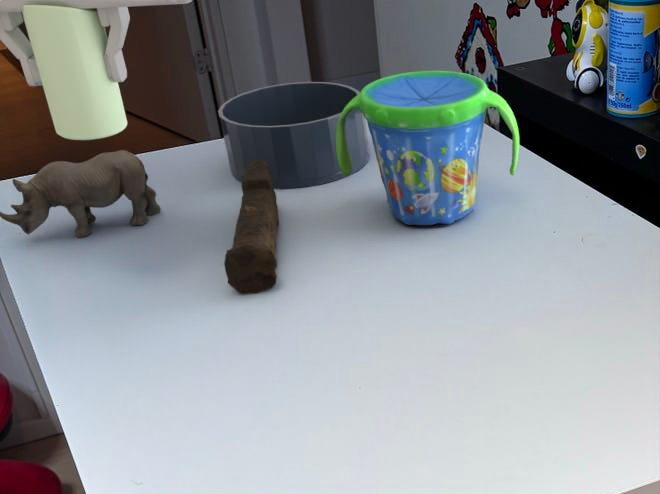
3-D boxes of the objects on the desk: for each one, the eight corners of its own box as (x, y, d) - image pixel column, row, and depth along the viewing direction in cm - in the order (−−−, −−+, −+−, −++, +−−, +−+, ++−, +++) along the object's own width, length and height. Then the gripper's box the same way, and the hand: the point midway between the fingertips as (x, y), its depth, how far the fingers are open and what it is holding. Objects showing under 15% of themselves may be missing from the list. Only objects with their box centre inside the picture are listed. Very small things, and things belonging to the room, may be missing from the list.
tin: (219, 192, 97) (205, 131, 94) (244, 143, 107) (232, 86, 104) (362, 184, 97) (354, 122, 93) (374, 135, 107) (367, 78, 103)
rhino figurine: (7, 238, 92) (-19, 168, 88) (158, 206, 96) (140, 138, 92) (12, 254, 89) (-15, 183, 85) (167, 220, 93) (148, 151, 89)
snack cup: (531, 193, 93) (528, 68, 86) (507, 240, 85) (501, 109, 78) (368, 188, 96) (352, 68, 89) (331, 233, 88) (311, 107, 81)
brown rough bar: (281, 293, 80) (269, 234, 77) (230, 297, 80) (217, 238, 77) (298, 204, 94) (289, 151, 91) (255, 207, 94) (245, 154, 91)
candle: (78, 115, 75) (44, -14, 70) (140, 120, 74) (110, -11, 69) (42, 138, 72) (3, 4, 66) (106, 142, 71) (72, 7, 65)
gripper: (187, -185, 63) (234, 62, 73) (-134, -167, 64) (-46, 75, 74) (163, -173, 59) (216, 89, 68) (-182, -154, 60) (-82, 102, 69)
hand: (78, 82), depth 71 cm, fingers closed on candle, 4 cm apart
